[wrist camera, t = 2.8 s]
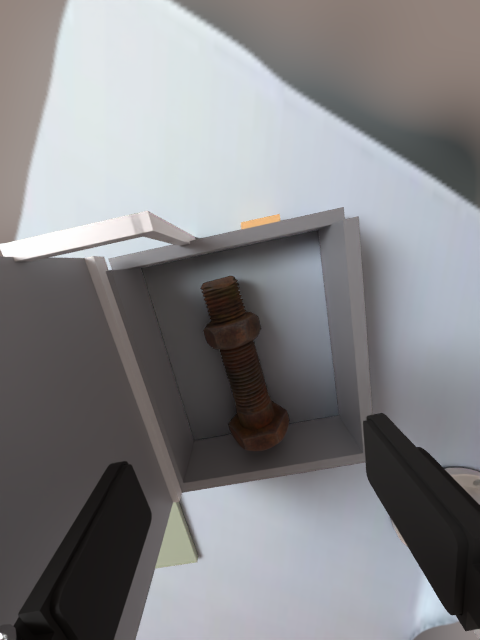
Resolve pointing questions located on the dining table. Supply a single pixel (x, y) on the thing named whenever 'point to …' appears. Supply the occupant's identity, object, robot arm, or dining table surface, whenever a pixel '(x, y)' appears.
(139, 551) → the robot arm
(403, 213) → the dining table surface
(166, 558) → the mat
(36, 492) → the case
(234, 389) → the bolt
